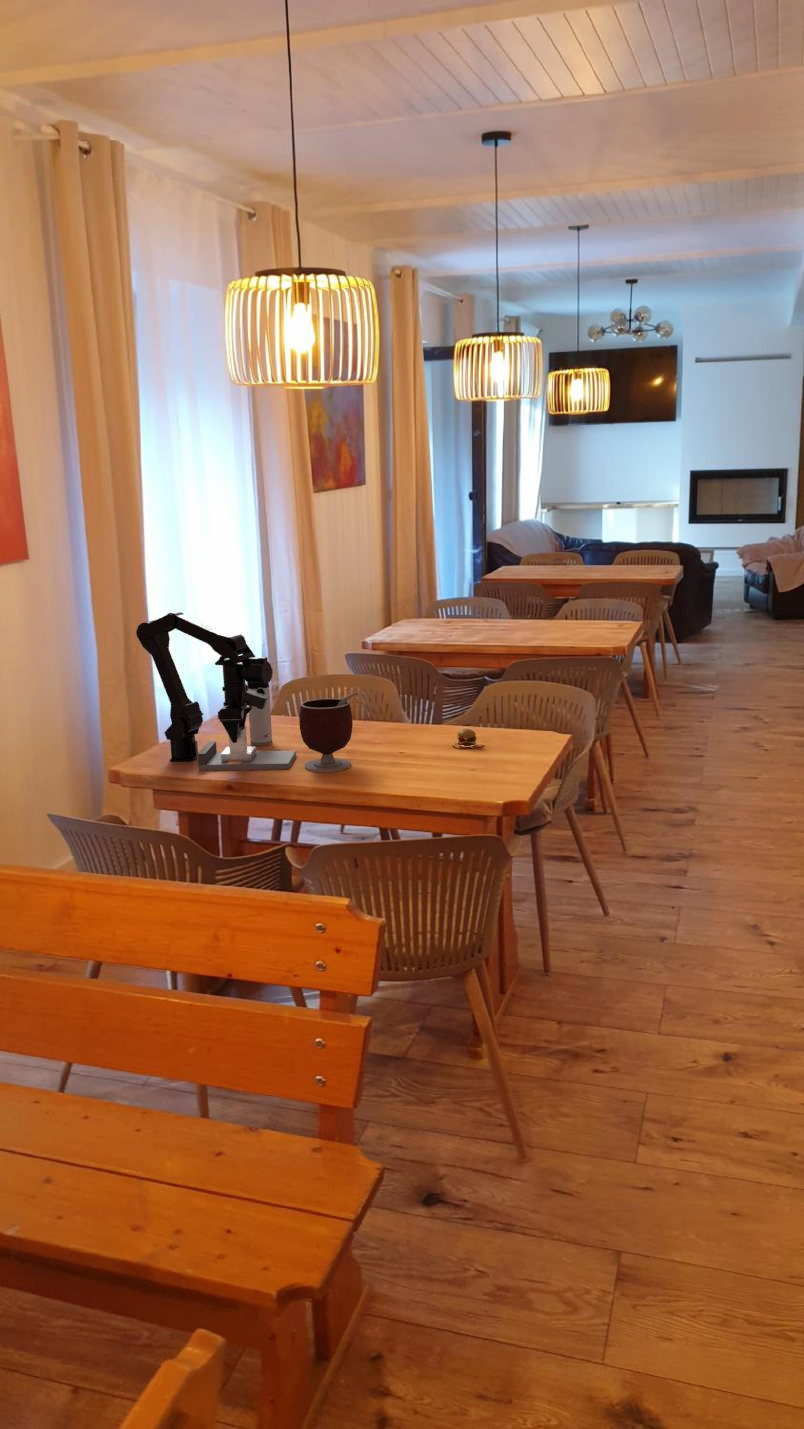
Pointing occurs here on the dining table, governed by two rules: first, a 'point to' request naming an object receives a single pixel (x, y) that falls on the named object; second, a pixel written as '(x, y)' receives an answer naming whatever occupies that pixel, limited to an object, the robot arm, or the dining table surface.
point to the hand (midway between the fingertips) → (238, 738)
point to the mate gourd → (326, 731)
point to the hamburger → (466, 737)
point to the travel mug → (260, 719)
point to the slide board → (261, 760)
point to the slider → (239, 748)
